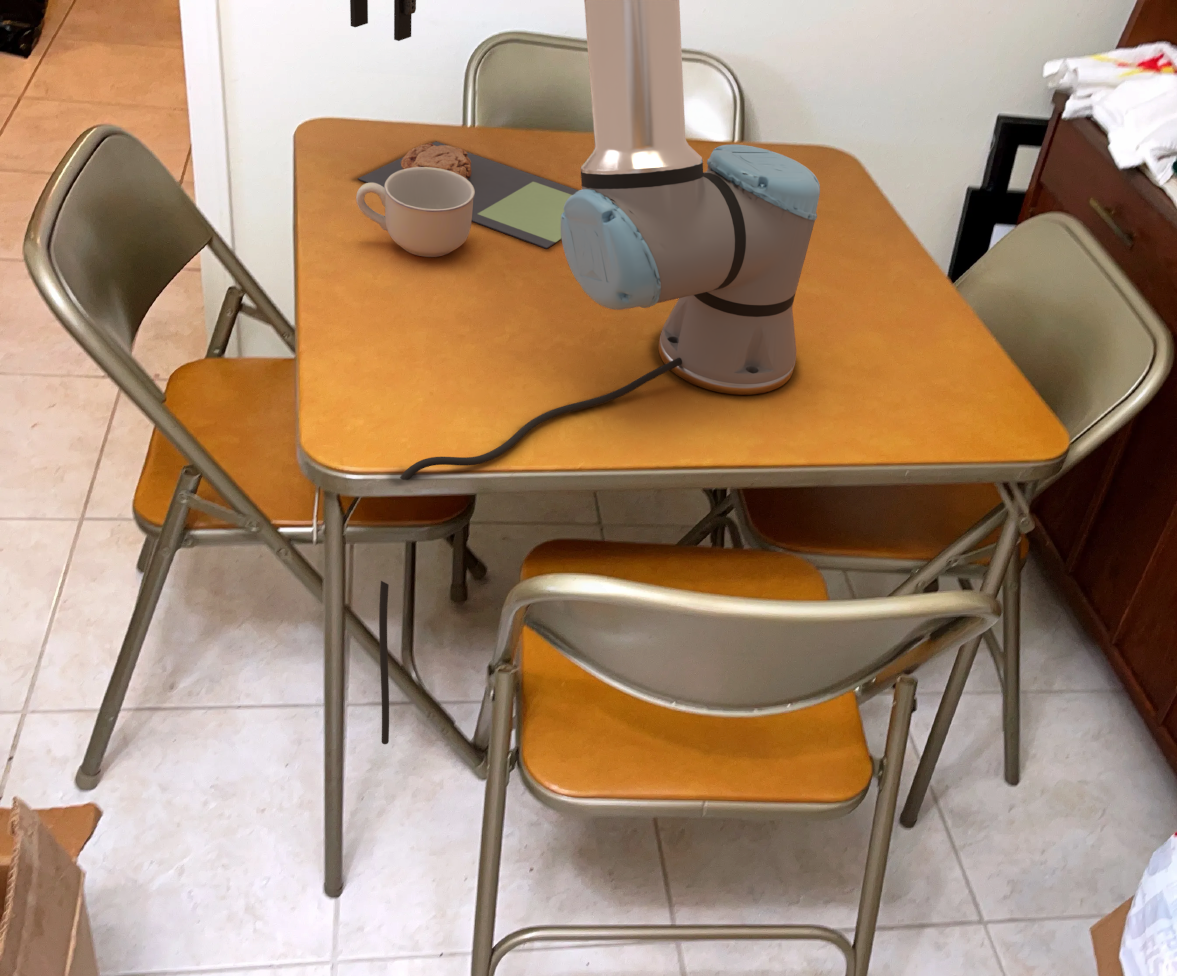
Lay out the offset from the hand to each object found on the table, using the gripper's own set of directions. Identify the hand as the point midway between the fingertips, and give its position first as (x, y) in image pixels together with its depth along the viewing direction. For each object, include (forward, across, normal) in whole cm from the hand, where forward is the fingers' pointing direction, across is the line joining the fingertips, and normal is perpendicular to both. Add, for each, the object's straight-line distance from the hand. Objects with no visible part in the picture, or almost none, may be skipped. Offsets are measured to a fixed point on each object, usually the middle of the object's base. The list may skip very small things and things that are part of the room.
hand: (380, 31), depth 149 cm
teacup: (+17, -20, +19) cm, 32 cm away
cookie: (+17, -10, 0) cm, 20 cm away
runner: (+17, -18, 0) cm, 25 cm away
